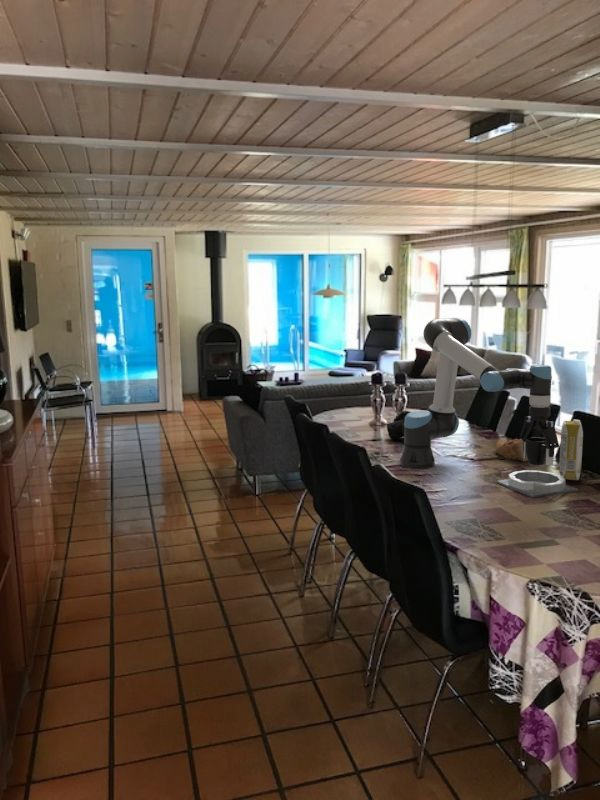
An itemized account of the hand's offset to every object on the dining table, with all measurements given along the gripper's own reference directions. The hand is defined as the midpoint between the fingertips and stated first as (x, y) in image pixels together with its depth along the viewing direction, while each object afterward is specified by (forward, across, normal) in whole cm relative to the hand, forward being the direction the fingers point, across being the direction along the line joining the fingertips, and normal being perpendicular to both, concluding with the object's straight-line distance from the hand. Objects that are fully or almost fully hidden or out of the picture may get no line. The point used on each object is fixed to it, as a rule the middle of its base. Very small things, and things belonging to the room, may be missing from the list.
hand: (537, 461), depth 243 cm
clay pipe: (+10, +40, -21) cm, 46 cm away
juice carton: (+10, +5, -21) cm, 24 cm away
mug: (+1, 0, 0) cm, 1 cm away
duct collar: (+10, 0, 0) cm, 10 cm away
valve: (+10, +87, +5) cm, 87 cm away
